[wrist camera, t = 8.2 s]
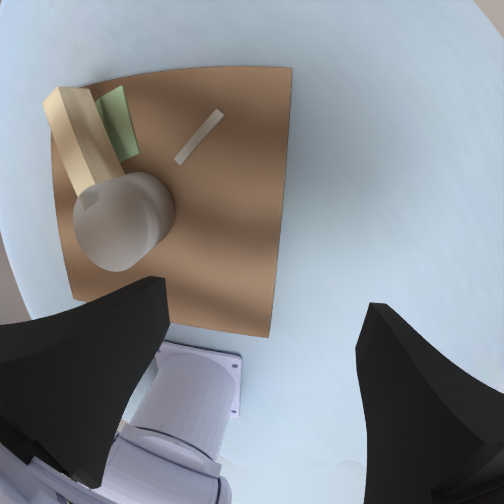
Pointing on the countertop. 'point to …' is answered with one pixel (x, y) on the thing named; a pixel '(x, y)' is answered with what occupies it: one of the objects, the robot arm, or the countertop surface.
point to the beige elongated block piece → (106, 186)
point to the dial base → (197, 189)
